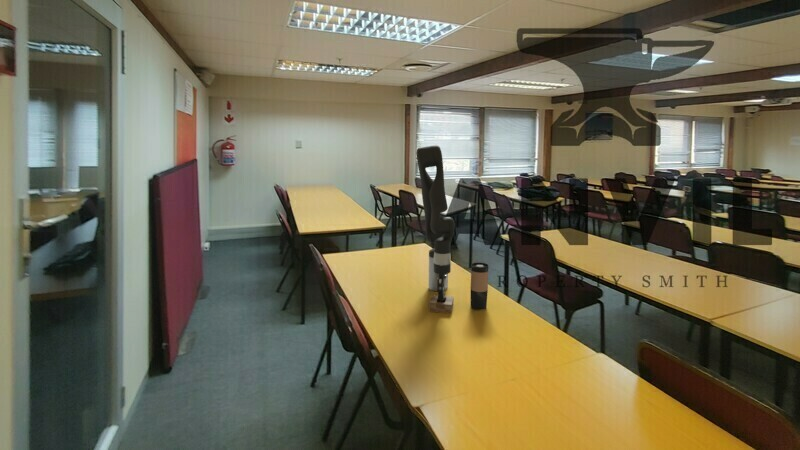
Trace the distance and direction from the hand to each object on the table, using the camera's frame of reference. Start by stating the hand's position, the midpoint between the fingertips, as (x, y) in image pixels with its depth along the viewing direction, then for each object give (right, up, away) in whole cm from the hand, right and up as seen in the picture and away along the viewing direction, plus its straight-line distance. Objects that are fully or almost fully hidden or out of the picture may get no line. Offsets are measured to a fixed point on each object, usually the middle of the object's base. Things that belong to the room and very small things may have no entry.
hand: (441, 296), depth 185 cm
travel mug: (+17, -5, +2) cm, 18 cm away
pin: (0, -5, +1) cm, 6 cm away
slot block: (0, -6, +1) cm, 6 cm away
